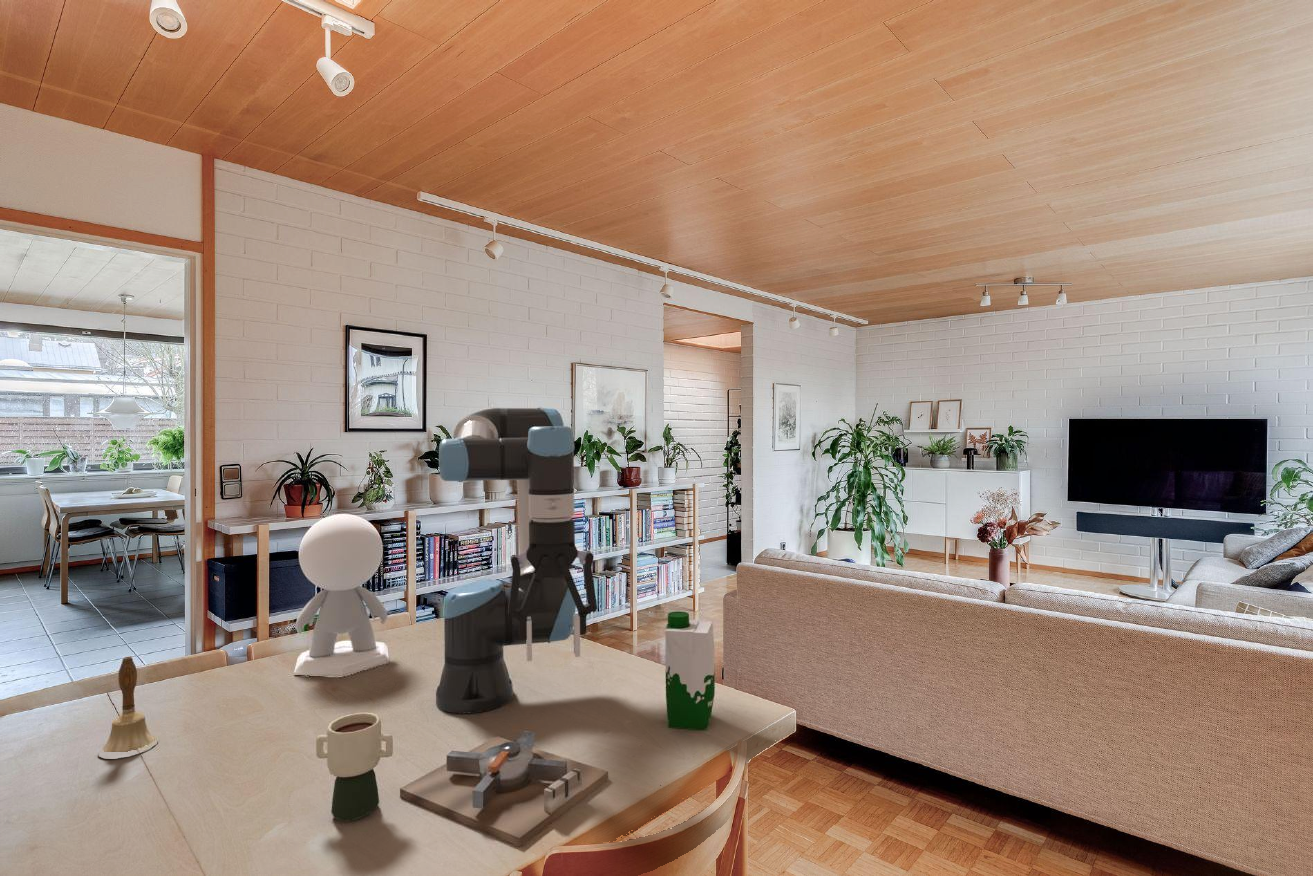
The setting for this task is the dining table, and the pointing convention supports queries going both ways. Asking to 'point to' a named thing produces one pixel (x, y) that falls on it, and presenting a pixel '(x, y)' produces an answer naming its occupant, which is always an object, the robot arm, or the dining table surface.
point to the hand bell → (128, 716)
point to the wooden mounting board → (505, 797)
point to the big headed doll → (341, 597)
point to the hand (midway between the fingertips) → (553, 656)
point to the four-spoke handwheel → (505, 768)
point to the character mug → (354, 762)
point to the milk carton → (689, 671)
